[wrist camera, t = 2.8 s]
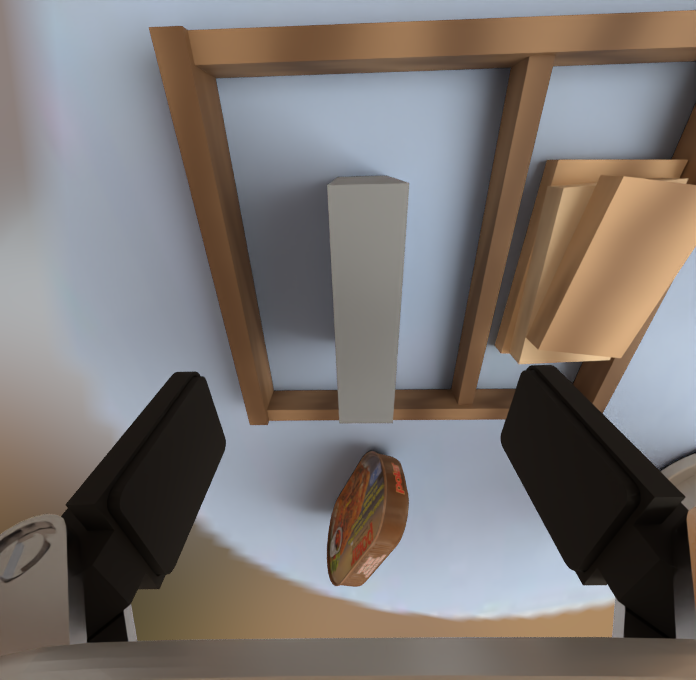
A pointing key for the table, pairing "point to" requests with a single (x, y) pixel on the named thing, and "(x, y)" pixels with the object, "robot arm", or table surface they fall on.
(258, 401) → the rack
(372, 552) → the tin
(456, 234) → the table surface
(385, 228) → the grey rectangular block
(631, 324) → the offcut stack
